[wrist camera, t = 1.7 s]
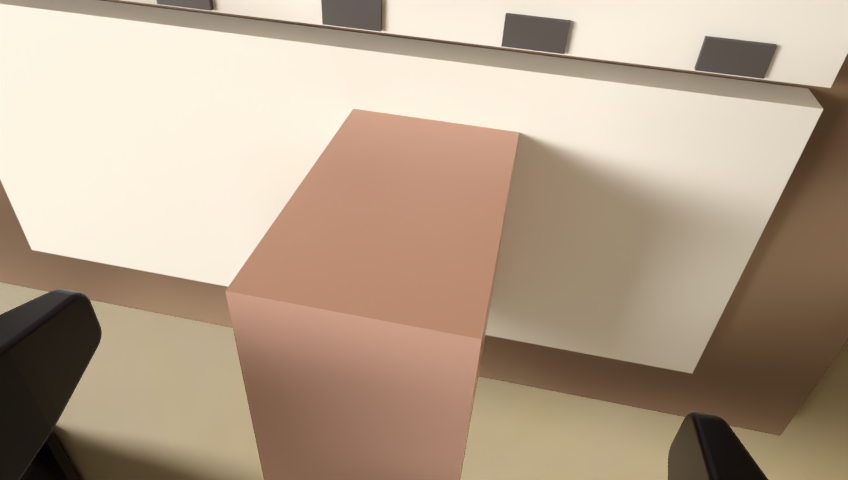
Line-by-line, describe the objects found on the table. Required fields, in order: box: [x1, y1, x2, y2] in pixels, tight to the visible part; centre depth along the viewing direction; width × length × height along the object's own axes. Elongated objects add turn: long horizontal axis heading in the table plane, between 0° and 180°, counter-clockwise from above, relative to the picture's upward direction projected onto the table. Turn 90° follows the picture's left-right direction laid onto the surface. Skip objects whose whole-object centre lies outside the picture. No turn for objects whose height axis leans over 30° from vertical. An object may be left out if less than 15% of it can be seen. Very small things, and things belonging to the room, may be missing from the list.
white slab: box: [0, 0, 823, 480], centre depth 11 cm, size 6×16×6 cm, turn 88°
